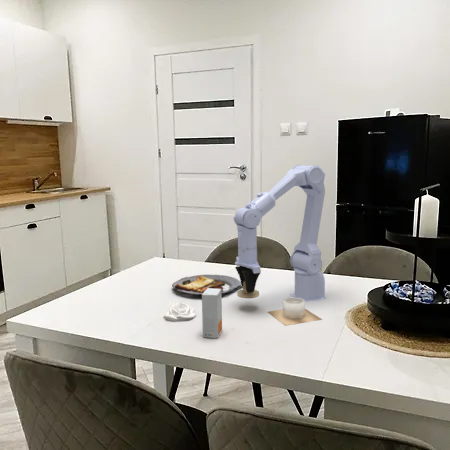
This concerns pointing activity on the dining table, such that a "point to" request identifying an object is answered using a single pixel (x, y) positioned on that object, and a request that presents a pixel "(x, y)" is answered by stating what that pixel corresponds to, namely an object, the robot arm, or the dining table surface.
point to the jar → (294, 308)
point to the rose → (180, 312)
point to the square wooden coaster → (279, 316)
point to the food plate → (205, 284)
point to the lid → (245, 294)
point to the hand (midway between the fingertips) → (248, 290)
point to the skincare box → (212, 312)
